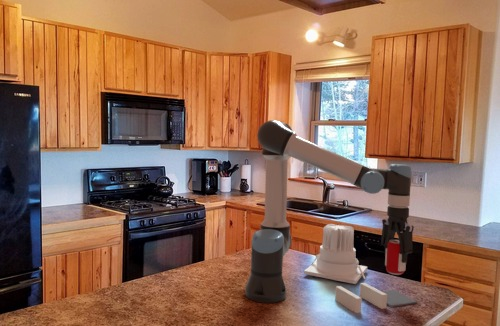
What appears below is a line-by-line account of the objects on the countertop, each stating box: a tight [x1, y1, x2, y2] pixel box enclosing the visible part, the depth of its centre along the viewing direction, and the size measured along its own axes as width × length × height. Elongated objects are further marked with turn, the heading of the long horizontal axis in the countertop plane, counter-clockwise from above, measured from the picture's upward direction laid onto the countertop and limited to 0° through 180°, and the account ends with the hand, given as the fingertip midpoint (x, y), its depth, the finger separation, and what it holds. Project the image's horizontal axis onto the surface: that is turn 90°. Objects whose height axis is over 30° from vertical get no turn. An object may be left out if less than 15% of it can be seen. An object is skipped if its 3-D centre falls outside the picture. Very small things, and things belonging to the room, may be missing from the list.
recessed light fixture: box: [303, 223, 368, 285], centre depth 178 cm, size 25×22×21 cm
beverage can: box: [385, 238, 405, 276], centre depth 152 cm, size 6×6×12 cm
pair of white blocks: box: [334, 282, 387, 314], centre depth 147 cm, size 13×12×5 cm
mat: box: [381, 289, 418, 308], centre depth 153 cm, size 12×12×1 cm
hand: (394, 267), depth 152 cm, fingers closed on beverage can, 6 cm apart
